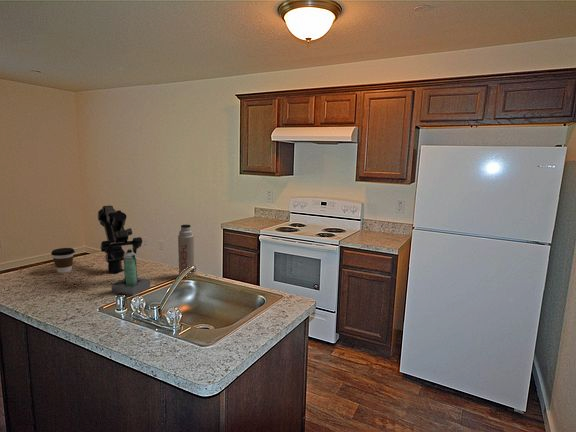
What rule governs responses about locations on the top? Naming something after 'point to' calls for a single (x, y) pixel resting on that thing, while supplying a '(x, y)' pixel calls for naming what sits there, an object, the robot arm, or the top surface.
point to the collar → (130, 287)
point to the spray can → (130, 268)
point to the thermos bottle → (186, 248)
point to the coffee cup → (63, 259)
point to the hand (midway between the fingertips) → (125, 258)
